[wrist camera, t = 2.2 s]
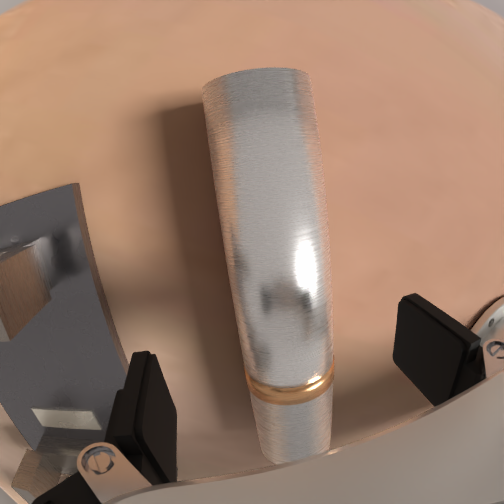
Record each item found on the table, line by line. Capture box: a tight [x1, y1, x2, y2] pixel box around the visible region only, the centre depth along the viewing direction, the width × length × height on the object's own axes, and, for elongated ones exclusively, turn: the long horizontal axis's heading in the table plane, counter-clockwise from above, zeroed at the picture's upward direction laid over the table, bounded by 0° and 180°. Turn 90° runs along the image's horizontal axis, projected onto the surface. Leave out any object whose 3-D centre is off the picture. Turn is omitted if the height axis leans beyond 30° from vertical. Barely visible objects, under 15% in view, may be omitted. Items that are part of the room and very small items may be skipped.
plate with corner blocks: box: [0, 183, 178, 504], centre depth 14 cm, size 14×24×8 cm, turn 7°
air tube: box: [202, 68, 334, 465], centre depth 16 cm, size 22×5×5 cm, turn 8°
